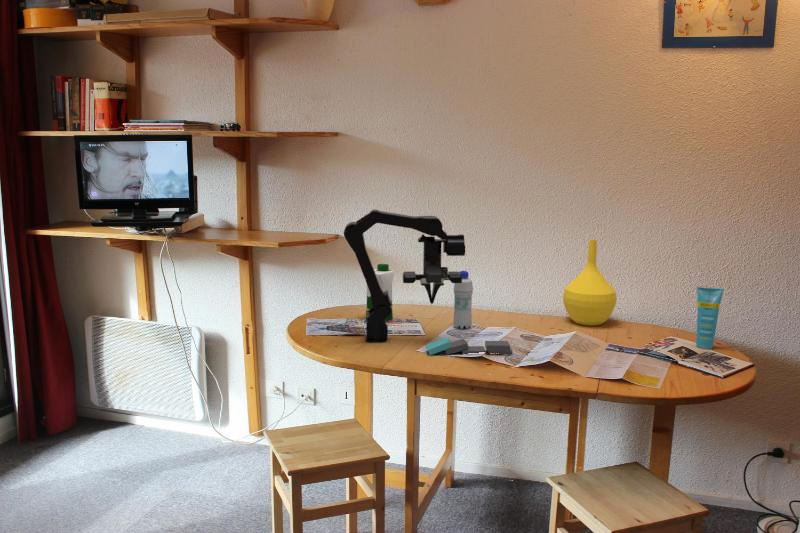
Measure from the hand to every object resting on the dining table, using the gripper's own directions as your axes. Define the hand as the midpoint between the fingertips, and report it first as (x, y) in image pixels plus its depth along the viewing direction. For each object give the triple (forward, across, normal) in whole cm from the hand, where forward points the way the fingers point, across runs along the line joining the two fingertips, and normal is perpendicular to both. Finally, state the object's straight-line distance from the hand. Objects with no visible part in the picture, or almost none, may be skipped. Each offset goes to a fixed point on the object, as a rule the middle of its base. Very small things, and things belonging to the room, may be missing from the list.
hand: (431, 303), depth 219 cm
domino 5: (+12, +16, -14) cm, 25 cm away
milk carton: (+12, -17, +24) cm, 32 cm away
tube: (+12, +86, -10) cm, 87 cm away
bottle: (+12, +12, +14) cm, 22 cm away
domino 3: (+12, +8, -14) cm, 20 cm away
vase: (+12, +58, +20) cm, 63 cm away
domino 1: (+11, -2, -15) cm, 18 cm away
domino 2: (+11, +3, -14) cm, 18 cm away
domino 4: (+10, +16, -14) cm, 23 cm away
